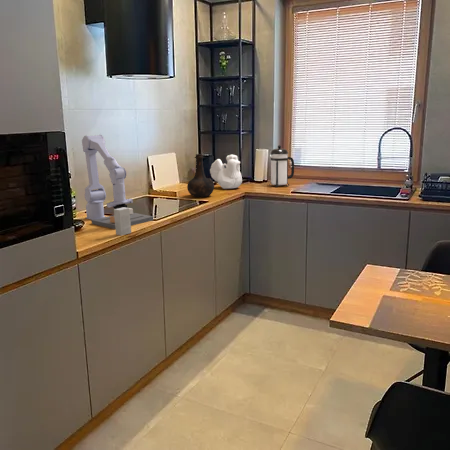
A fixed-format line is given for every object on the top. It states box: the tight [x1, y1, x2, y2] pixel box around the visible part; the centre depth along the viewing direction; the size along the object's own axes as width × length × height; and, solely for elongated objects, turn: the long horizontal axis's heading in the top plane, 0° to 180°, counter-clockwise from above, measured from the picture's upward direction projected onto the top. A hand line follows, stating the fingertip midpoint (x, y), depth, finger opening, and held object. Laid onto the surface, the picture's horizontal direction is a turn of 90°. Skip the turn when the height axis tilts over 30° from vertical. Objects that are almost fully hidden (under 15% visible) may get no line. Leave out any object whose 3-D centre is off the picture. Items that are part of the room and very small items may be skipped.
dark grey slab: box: [90, 212, 154, 230], centre depth 238 cm, size 20×24×2 cm
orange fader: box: [109, 215, 115, 223], centre depth 228 cm, size 4×4×3 cm
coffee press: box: [269, 144, 295, 188], centre depth 340 cm, size 17×16×30 cm
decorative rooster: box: [209, 154, 243, 190], centre depth 336 cm, size 25×16×25 cm, turn 48°
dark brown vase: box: [186, 153, 215, 198], centre depth 304 cm, size 18×18×28 cm
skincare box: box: [113, 207, 132, 237], centre depth 213 cm, size 6×4×12 cm
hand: (121, 219), depth 231 cm, fingers closed
